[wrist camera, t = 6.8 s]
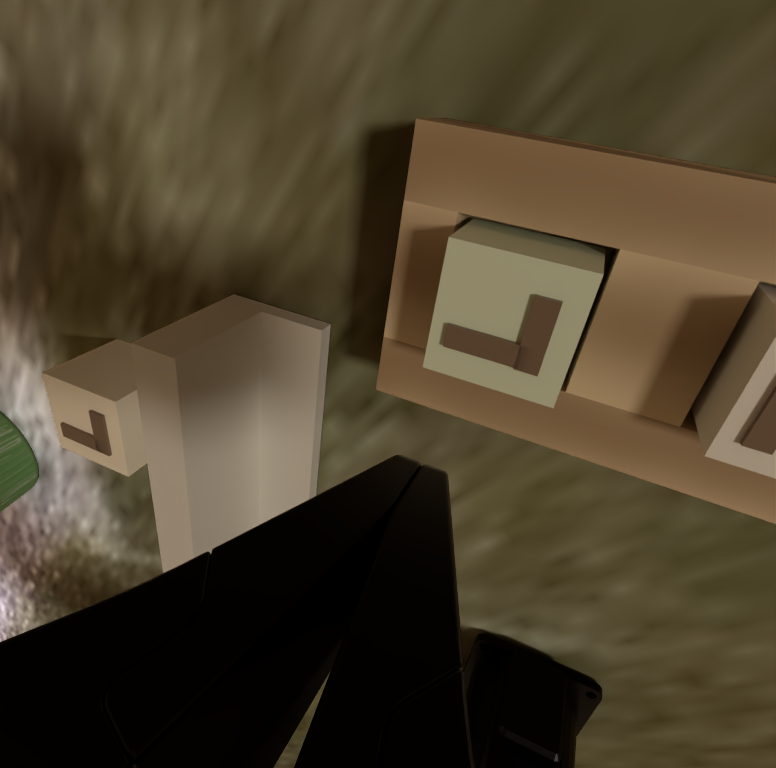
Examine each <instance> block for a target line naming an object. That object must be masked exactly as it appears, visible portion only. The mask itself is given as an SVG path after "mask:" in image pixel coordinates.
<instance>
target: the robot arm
mask: <svg viewBox="0 0 776 768" xmlns="http://www.w3.org/2000/svg"><path fill="white" fill-rule="evenodd" d="M462 670H463V654H462V642H461V629H460V617H459V605H458V592H457V580H456V567H455V555H454V543H453V530H452V518H451V505H450V493H449V480H448V474H447V473H446V472H445V471H443V470H440V469H438V468H435V467H432V466H430V465H423V466H421V464H420V462H418V461H416V460H413V459H411V458H408V457H405V456H402V455H395V456H393V457H391V458H389V459H387V460H385V461H383V462H381V463H379V464H377V465H375V466H373V467H371V468H369V469H367V470H366V471H364V472H362V473H360V474H358V475H356V476H354V477H352V478H350V479H348V480H346V481H344V482H342V483H340V484H338V485H336V486H334V487H332V488H330V489H328V490H326V491H324V492H322V493H321V494H319V495H317V496H315V497H313V498H311V499H309V500H307V501H305V502H303V503H301V504H299V505H297V506H295V507H293V508H291V509H289V510H287V511H285V512H283V513H281V514H279V515H277V516H276V517H274V518H272V519H270V520H268V521H266V522H264V523H262V524H260V525H258V526H256V527H254V528H252V529H250V530H248V531H246V532H244V533H242V534H240V535H238V536H236V537H234V538H233V539H231V540H229V541H227V542H225V543H223V544H221V545H219V546H217V547H215V548H213V549H212V553H210V552H208V551H207V552H205V553H203V554H201V555H199V556H197V557H195V558H193V559H191V560H189V561H187V562H185V563H183V564H181V565H179V566H177V567H175V568H173V569H171V570H169V571H167V572H165V573H162V574H160V575H158V576H156V577H154V578H152V579H150V580H148V581H146V582H144V583H142V584H140V585H137V586H135V587H133V588H130V589H128V590H126V591H123V592H121V593H119V594H116V595H114V596H112V597H109V598H107V599H105V600H102V601H100V602H98V603H95V604H93V605H91V606H88V607H86V608H83V609H81V610H78V611H76V612H73V613H71V614H69V615H66V616H64V617H61V618H59V619H56V620H54V621H51V622H49V623H46V624H44V625H41V626H39V627H36V628H34V629H32V630H29V631H27V632H24V633H22V634H19V635H17V636H14V637H12V638H9V639H7V640H4V641H2V642H0V768H273V767H274V766H275V764H276V762H277V761H278V759H279V757H280V755H281V754H282V752H283V750H284V749H285V747H286V745H287V744H288V742H289V740H290V739H291V737H292V735H293V733H294V732H295V730H296V728H297V727H298V725H299V723H300V722H301V720H302V718H303V716H304V715H305V713H306V711H307V710H308V708H309V706H310V705H311V703H312V701H313V700H314V698H315V696H316V694H317V693H318V691H319V689H320V688H321V686H322V684H323V683H324V681H325V679H326V677H327V676H328V674H329V672H330V671H331V672H330V674H329V677H328V680H327V682H326V685H325V688H324V690H323V693H322V695H321V698H320V701H319V703H318V706H317V709H316V711H315V714H314V717H313V719H312V722H311V724H310V727H309V730H308V732H307V735H306V738H305V740H304V743H303V746H302V748H301V751H300V753H299V756H298V759H297V761H296V764H295V767H294V768H574V766H575V750H576V736H577V735H578V733H579V732H580V730H581V729H582V728H583V726H584V725H585V723H586V722H587V720H588V719H589V717H590V716H591V714H592V713H593V712H594V710H595V709H596V707H597V706H598V704H599V703H600V701H601V700H602V688H601V686H600V685H599V684H597V683H595V682H593V681H591V680H588V679H586V678H584V677H582V676H579V675H577V674H575V673H573V672H570V671H568V670H566V669H564V668H561V667H559V666H557V665H555V664H553V663H550V662H548V661H546V660H544V659H541V658H539V657H537V656H535V655H532V654H530V653H528V652H526V651H523V650H521V649H519V648H517V647H514V646H512V645H510V644H508V643H505V642H503V641H501V640H499V639H496V638H494V637H492V636H490V635H487V634H479V635H478V636H477V638H476V640H475V643H474V645H473V648H472V650H471V653H470V655H469V658H468V661H467V663H466V666H465V668H464V671H462Z"/></svg>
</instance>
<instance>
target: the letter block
mask: <svg viewBox="0 0 776 768" xmlns="http://www.w3.org/2000/svg"><path fill="white" fill-rule="evenodd" d="M42 376H43V379H44V383H45V387H46V391H47V395H48V399H49V403H50V407H51V411H52V415H53V418H54V422H55V426H56V430H57V434H58V438H59V442H60V446H61V447H63V448H65V449H67V450H69V451H72V452H74V453H76V454H78V455H81V456H83V457H85V458H87V459H90V460H92V461H94V462H96V463H99V464H101V465H103V466H105V467H108V468H110V469H112V470H114V471H117V472H119V473H121V474H123V475H126V476H128V477H129V476H130V475H131V474H133V473H134V472H136V471H137V470H138V469H140V468H141V467H142V466H144V465H145V464H146V463H147V456H146V449H145V442H144V435H143V428H142V422H141V415H140V408H139V401H138V394H137V387H136V380H135V373H134V366H133V359H132V352H131V345H130V343H128V342H125V341H122V340H119V339H116V340H114V341H111V342H109V343H107V344H105V345H102V346H100V347H98V348H96V349H93V350H91V351H89V352H87V353H84V354H82V355H80V356H78V357H76V358H73V359H71V360H69V361H67V362H64V363H62V364H60V365H58V366H55V367H53V368H51V369H49V370H46V371H44V372H42Z"/></svg>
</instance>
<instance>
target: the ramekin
mask: <svg viewBox="0 0 776 768" xmlns="http://www.w3.org/2000/svg"><path fill="white" fill-rule="evenodd" d="M38 476H39V469H38V464H37V460H36V457H35V455H34V453H33V450H32V448H31V447H30V445H29V443H28V441H27V440H26V438H25V437H24V436H23V434H22V433H21V432H20V430H19V429H18V428H17V427H16V426H15V425H14V424H13V422H12V421H10V420H9V419H8V418H7V417H6V416H5V415H4V414H3V413H2V412H0V512H1V511H2V510H4V509H5V508H6V507H8V506H9V505H10V504H12V503H13V502H14V501H16V500H17V499H18V498H20V497H21V496H22V495H24V494H25V493H26V492H27V491H29V490H30V489H31V488H32V487H33V486H34V485H35V483H36V482H37V479H38Z"/></svg>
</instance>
